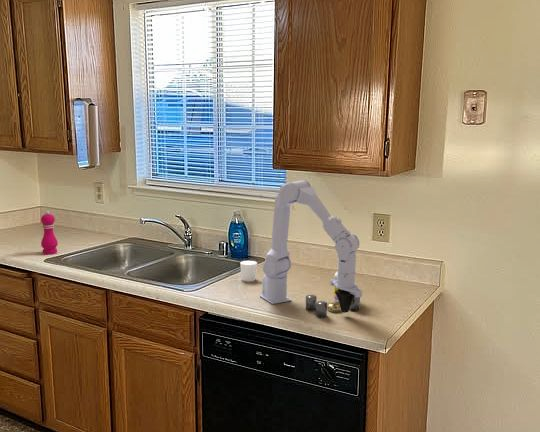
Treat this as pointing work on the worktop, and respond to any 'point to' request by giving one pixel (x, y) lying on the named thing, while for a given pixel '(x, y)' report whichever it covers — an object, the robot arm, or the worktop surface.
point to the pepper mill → (48, 234)
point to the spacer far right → (321, 309)
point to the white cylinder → (248, 270)
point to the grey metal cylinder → (355, 304)
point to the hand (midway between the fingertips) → (344, 311)
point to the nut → (333, 307)
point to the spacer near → (311, 302)
